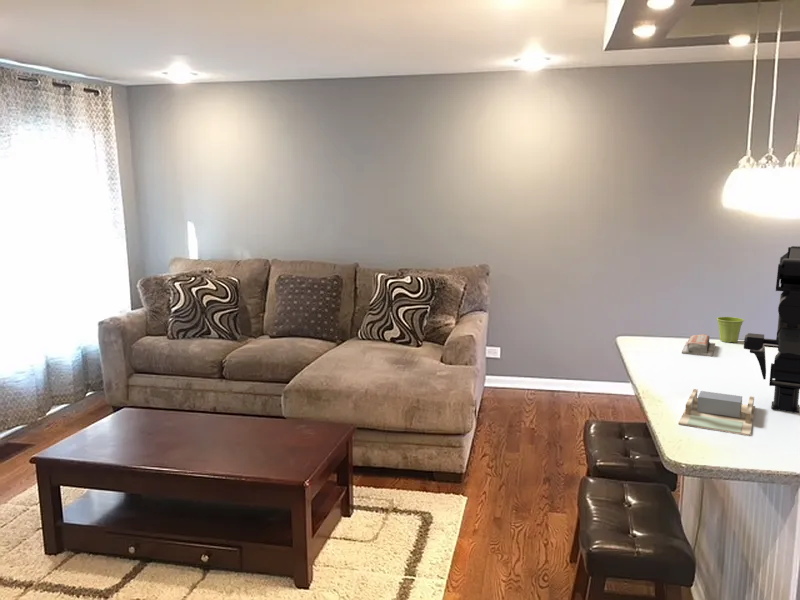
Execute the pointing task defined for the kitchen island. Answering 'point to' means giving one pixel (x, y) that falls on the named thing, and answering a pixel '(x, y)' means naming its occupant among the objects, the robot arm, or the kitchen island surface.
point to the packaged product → (699, 346)
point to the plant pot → (729, 328)
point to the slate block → (719, 404)
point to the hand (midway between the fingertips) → (787, 381)
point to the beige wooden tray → (718, 417)
